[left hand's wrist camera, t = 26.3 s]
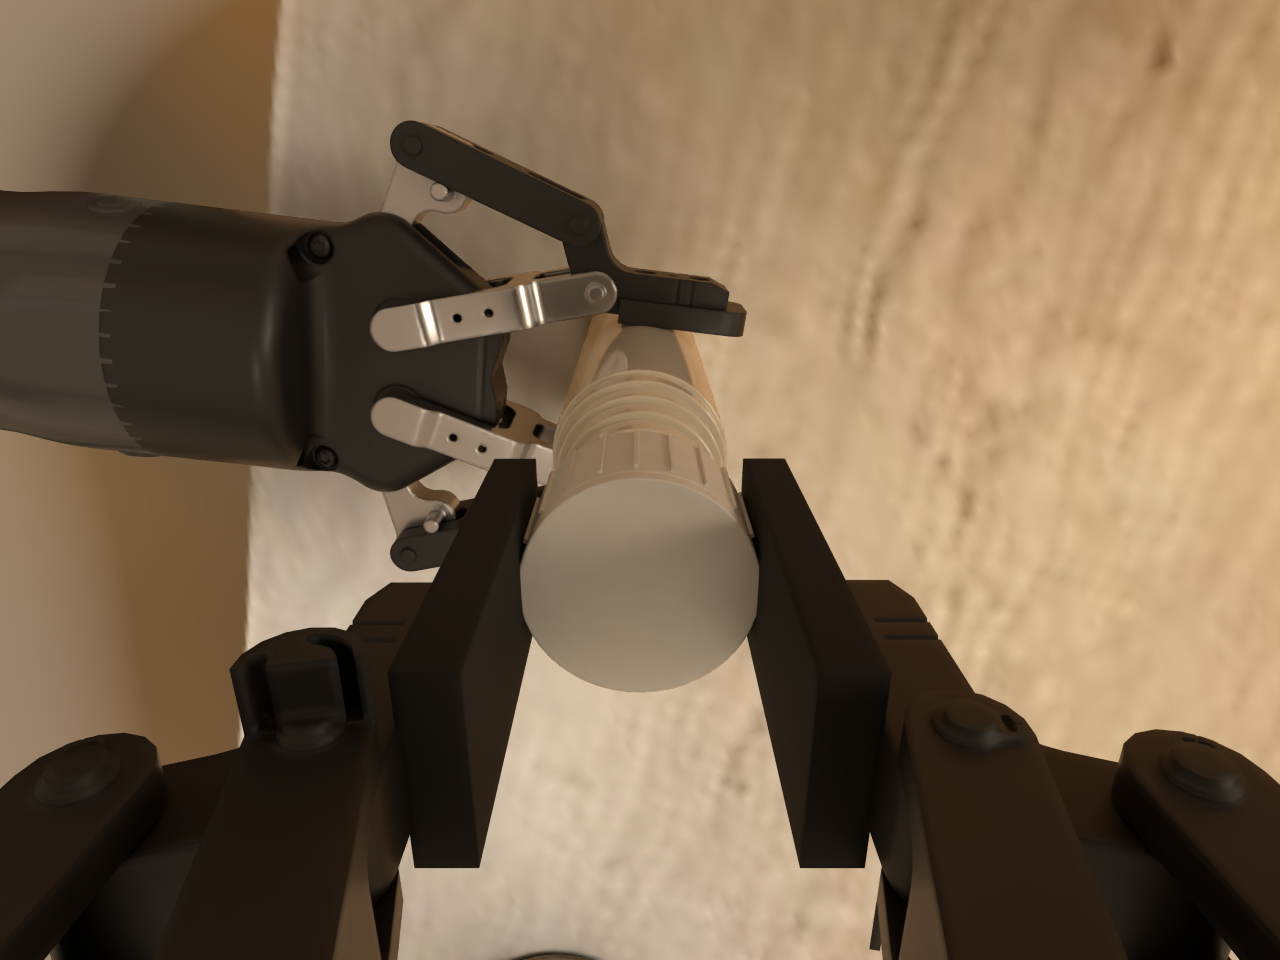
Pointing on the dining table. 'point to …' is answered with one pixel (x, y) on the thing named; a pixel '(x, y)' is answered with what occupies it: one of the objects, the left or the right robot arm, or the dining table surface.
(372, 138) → the dining table surface
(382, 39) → the dining table surface
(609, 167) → the dining table surface
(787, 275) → the dining table surface
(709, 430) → the bottle
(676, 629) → the cap
